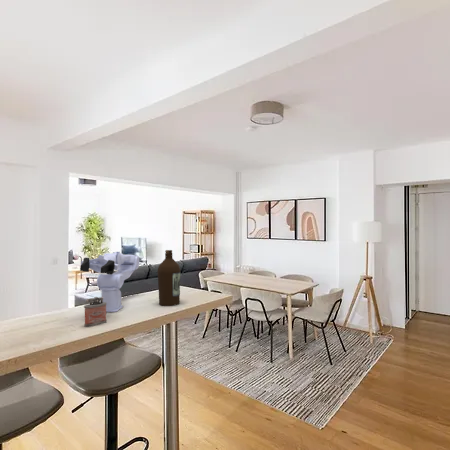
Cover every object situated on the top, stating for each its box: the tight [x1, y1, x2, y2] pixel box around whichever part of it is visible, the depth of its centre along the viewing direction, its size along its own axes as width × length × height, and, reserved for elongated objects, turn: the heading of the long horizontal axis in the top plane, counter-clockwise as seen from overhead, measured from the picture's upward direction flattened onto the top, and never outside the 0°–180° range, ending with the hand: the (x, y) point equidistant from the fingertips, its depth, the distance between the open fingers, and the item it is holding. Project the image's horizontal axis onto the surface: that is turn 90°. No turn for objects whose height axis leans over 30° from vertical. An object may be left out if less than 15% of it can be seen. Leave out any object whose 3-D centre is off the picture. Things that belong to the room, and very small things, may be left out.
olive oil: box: [156, 249, 181, 307], centre depth 149 cm, size 11×11×25 cm
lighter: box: [83, 296, 107, 328], centre depth 118 cm, size 8×3×10 cm, turn 134°
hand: (91, 269), depth 119 cm, fingers open, 7 cm apart
